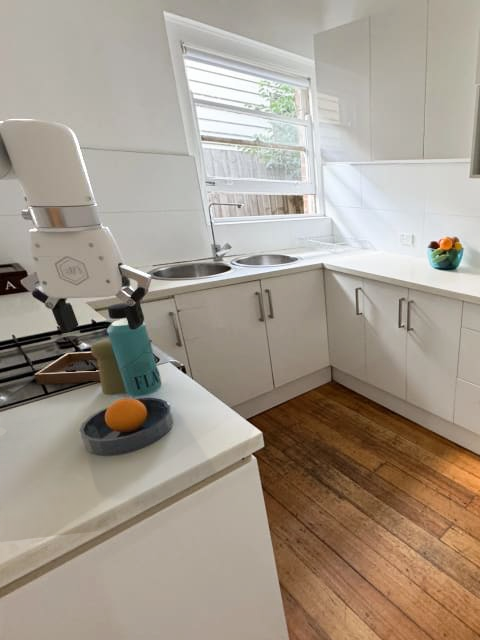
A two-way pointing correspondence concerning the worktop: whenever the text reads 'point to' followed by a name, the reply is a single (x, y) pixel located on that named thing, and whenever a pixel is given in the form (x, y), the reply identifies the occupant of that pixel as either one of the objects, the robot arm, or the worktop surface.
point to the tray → (58, 374)
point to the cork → (108, 367)
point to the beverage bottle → (133, 354)
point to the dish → (115, 443)
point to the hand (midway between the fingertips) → (104, 328)
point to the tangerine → (125, 415)
